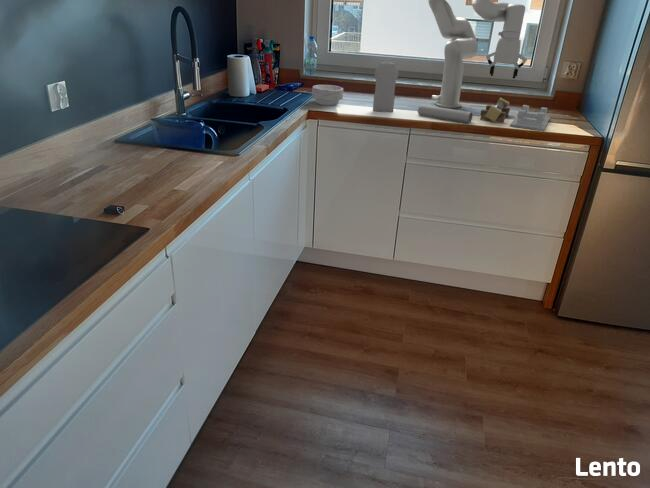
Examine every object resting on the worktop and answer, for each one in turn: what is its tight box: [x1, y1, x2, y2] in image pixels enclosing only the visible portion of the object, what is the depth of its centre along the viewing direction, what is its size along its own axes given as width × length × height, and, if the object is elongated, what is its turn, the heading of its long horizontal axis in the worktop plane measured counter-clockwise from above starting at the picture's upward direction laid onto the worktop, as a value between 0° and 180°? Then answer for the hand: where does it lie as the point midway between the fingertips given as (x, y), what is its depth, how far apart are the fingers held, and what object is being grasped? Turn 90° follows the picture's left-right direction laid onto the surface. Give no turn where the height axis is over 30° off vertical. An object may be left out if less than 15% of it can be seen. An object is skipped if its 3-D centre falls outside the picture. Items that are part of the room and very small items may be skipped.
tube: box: [417, 104, 473, 125], centre depth 229 cm, size 5×5×25 cm
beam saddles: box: [479, 104, 511, 123], centre depth 234 cm, size 10×15×4 cm
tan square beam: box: [485, 97, 510, 123], centre depth 233 cm, size 5×24×5 cm, turn 154°
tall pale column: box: [372, 61, 399, 113], centre depth 233 cm, size 11×4×22 cm, turn 93°
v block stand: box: [509, 104, 551, 132], centre depth 227 cm, size 14×26×6 cm, turn 153°
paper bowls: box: [311, 84, 344, 106], centre depth 247 cm, size 15×15×8 cm
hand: (502, 76), depth 227 cm, fingers open, 9 cm apart
